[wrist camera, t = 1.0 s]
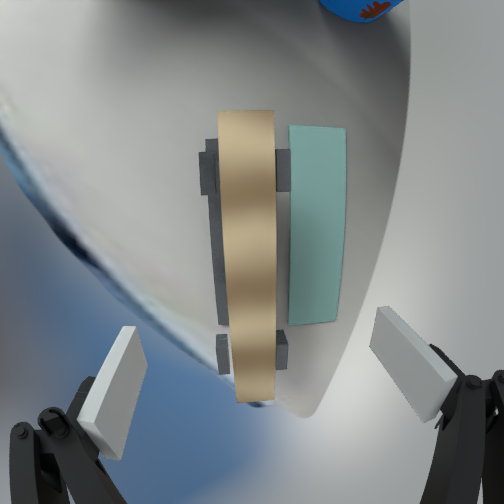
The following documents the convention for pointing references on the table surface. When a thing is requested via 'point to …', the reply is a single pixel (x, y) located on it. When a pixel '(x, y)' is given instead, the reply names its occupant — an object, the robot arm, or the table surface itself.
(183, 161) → the table surface
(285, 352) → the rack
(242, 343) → the rail
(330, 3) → the thermos
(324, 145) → the mat
